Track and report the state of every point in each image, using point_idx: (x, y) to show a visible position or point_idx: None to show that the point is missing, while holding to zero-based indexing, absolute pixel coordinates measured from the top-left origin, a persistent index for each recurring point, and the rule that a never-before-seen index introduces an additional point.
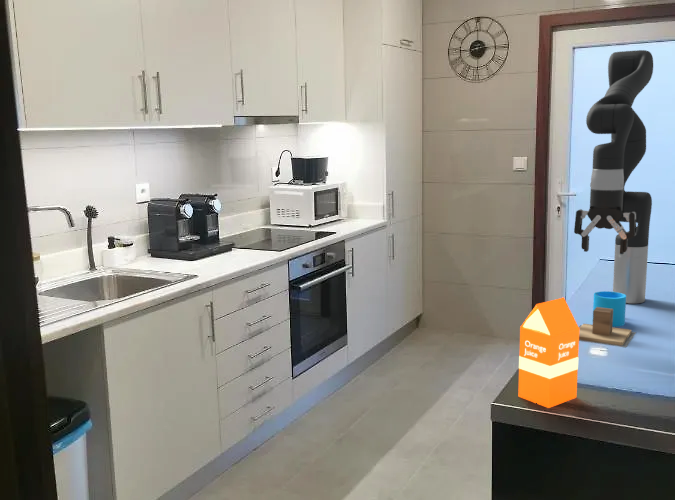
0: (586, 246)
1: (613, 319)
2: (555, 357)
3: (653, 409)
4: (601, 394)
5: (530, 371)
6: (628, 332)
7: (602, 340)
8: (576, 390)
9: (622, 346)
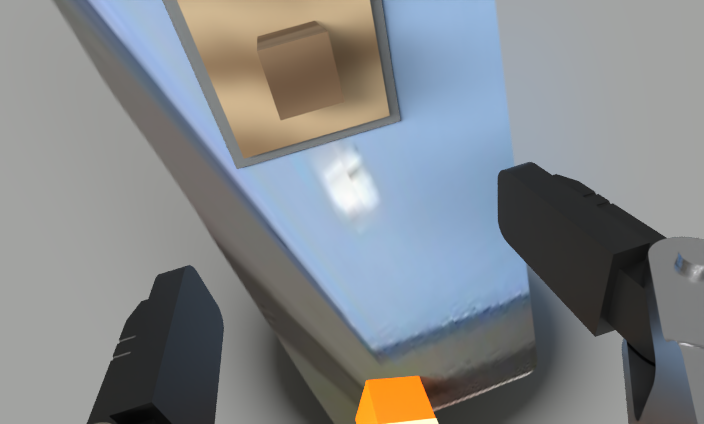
0: (218, 363)
1: None
2: None
3: (515, 338)
4: (443, 348)
5: None
6: None
7: (333, 131)
8: (422, 386)
9: (390, 121)
